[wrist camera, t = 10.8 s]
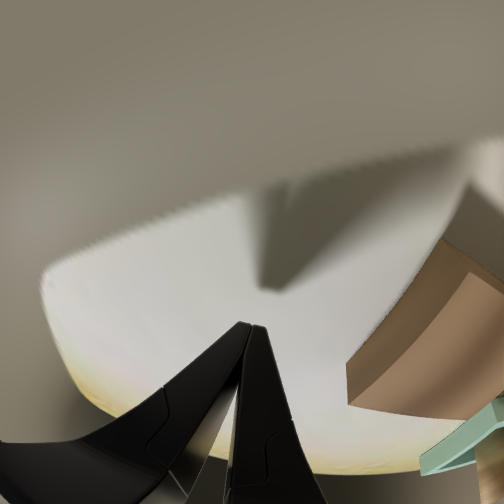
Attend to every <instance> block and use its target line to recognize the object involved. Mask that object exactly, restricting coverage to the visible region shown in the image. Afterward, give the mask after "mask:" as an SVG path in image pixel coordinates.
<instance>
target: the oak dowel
mask: <svg viewBox="0 0 504 504" xmlns="http://www.w3.org/2000/svg"><path fill="white" fill-rule="evenodd" d="M473 448H474V453H475V458H476V464H477V470H478V477H479V486H480V497H481V504H491V503H494V502H495V501H497V500H499V499H501V498H503V497H504V427H500V428H497V429H495V430H494V431H492V432H491V433H490V434H489V435H488V436H486V437H485V438H484V439H482V440H481V441H480V442H479V443H477V444H476V445H475V446H473Z"/></svg>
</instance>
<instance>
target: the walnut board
mask: <svg viewBox="0 0 504 504" xmlns="http://www.w3.org/2000/svg"><path fill="white" fill-rule="evenodd" d="M346 374H347V394H348V405H351V406H355V407H360V408H365V409H371V410H376V411H382V412H388V413H394V414H401V415H409V416H417V417H426V418H437V419H452V420H469V419H470V418H472V417H473V416H474V415H475V414H477V413H478V412H479V411H480V410H482V409H483V408H484V407H485V406H487V405H488V404H489V403H490V402H491V401H492V400H493V399H495V398H496V397H497V396H498V395H499V394H500V393H501V392H502V391H503V390H504V282H502V281H501V280H500V279H498V278H497V277H496V276H495V275H493V274H492V273H491V272H489V271H488V270H487V269H485V268H484V267H482V266H481V265H480V264H478V263H477V262H475V261H474V260H473V259H471V258H470V257H468V256H467V255H465V254H464V253H462V252H461V251H459V250H458V249H456V248H455V247H453V246H452V245H450V244H449V243H447V242H446V241H444V240H443V239H441V238H440V240H439V241H438V243H437V245H436V246H435V248H434V250H433V251H432V253H431V254H430V256H429V258H428V259H427V261H426V262H425V264H424V265H423V267H422V268H421V270H420V271H419V273H418V274H417V276H416V277H415V279H414V280H413V282H412V283H411V285H410V286H409V287H408V289H407V290H406V292H405V293H404V294H403V296H402V297H401V298H400V300H399V301H398V302H397V304H396V305H395V306H394V308H393V309H392V310H391V312H390V313H389V314H388V315H387V317H386V318H385V319H384V321H383V322H382V323H381V324H380V325H379V327H378V328H377V329H376V330H375V332H374V333H373V334H372V335H371V336H370V337H369V339H368V340H367V341H366V342H365V343H364V344H363V346H362V347H361V348H360V349H359V350H358V351H357V352H356V353H355V355H354V356H353V357H352V358H351V359H350V360H349V361H348V362H347V363H346Z"/></svg>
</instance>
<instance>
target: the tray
mask: <svg viewBox="0 0 504 504" xmlns="http://www.w3.org/2000/svg"><path fill="white" fill-rule="evenodd" d="M500 427H504V397H500V398H495V399H493V400H492V401H491V402H490V403H489V404H488V405H487V406H485V407H484V408H483V409H482V410H480V411H479V412H478V413H477V414H475V415H474V416H473V417H472V418H470V419H469V420H467V421H466V422H465V423H464V424H463V425H461V426H460V427H459V428H458V429H457V430H455V431H454V432H453V433H452V434H450V435H449V436H448V437H447V438H445V439H444V440H443V441H441V442H440V443H439V444H437V445H436V446H435V447H433V448H432V449H430V450H429V451H428V452H426V453H425V454H423V455H422V456H420V457H419V459H420V470H421V476H424V475H429V474H434V473H438V472H443V471H446V470H451V469H454V468H458V467H462V466H465V465H468V464H471V463H475V462H476V458H475V453H474V448H473V446H475V445H476V444H477V443H479V442H480V441H481V440H482V439H484V438H485V437H486V436H488V435H489V434H490V433H491V432H492V431H494V430H495V429H497V428H500Z"/></svg>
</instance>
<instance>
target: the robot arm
mask: <svg viewBox="0 0 504 504" xmlns="http://www.w3.org/2000/svg"><path fill="white" fill-rule="evenodd" d="M237 387H238V389H237ZM163 388H164V389H163ZM163 388H162V387H161V388H160V389H158V390H157V391H156V392H155V393H154V394H152V395H151V396H150V397H148V398H147V399H146V400H144V401H143V402H142V403H140V404H139V405H137V406H136V407H134V408H133V409H131V410H129V411H128V412H126V413H125V414H123V415H121V416H120V417H118V418H116V419H114V420H113V421H111V422H109V423H108V424H106V425H104V426H102V427H100V428H98V429H96V430H94V431H93V432H91V433H89V434H87V435H85V436H82V437H80V438H77V439H74V440H69V441H61V442H46V443H5V442H2V441H1V440H0V504H185V502H186V500H187V497H188V496H189V494H190V492H191V490H192V488H193V486H194V484H195V482H196V480H197V478H198V475H199V473H200V471H201V469H202V467H203V465H204V463H205V461H206V458H207V456H208V454H209V452H210V450H211V448H212V445H213V443H214V441H215V439H216V437H217V434H218V432H219V430H220V428H221V425H222V423H223V421H224V419H225V416H226V414H227V412H228V409H229V407H230V405H231V403H232V400H233V398H234V395H235V393H236V390H237V395H236V403H235V411H234V420H233V428H232V436H231V444H230V452H229V460H228V468H227V476H226V485H225V493H224V500H223V504H328V502H327V501H326V499H325V497H324V495H323V493H322V491H321V489H320V487H319V485H318V483H317V481H316V478H315V477H314V474H313V472H312V470H311V468H310V466H309V464H308V461H307V459H306V457H305V454H304V452H303V450H302V447H301V444H300V441H299V438H298V435H297V432H296V429H295V426H294V422H293V420H291V419H292V416H291V412H290V409H289V406H288V402H287V399H286V395H285V392H284V388H283V385H282V381H281V378H280V374H279V371H278V367H277V364H276V360H275V357H274V353H273V350H272V346H271V343H270V339H269V336H268V332H267V329H266V327H264V326H259V325H251V324H250V323H245V322H241V321H239V322H237V323H236V324H235V325H234V326H233V327H232V328H230V329H229V330H228V331H227V332H226V333H225V334H224V335H223V336H221V337H220V338H219V339H218V340H217V341H216V342H215V343H213V344H212V345H211V346H210V347H209V348H208V349H206V350H205V351H204V352H203V353H202V354H201V355H199V356H198V357H197V358H196V359H195V360H194V361H192V362H191V363H190V364H189V365H188V366H187V367H185V368H184V369H183V370H182V371H181V372H179V373H178V374H177V375H176V376H175V377H173V378H172V379H171V380H170V381H168V382H167V383H166V384H165V385H164V386H163Z"/></svg>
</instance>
